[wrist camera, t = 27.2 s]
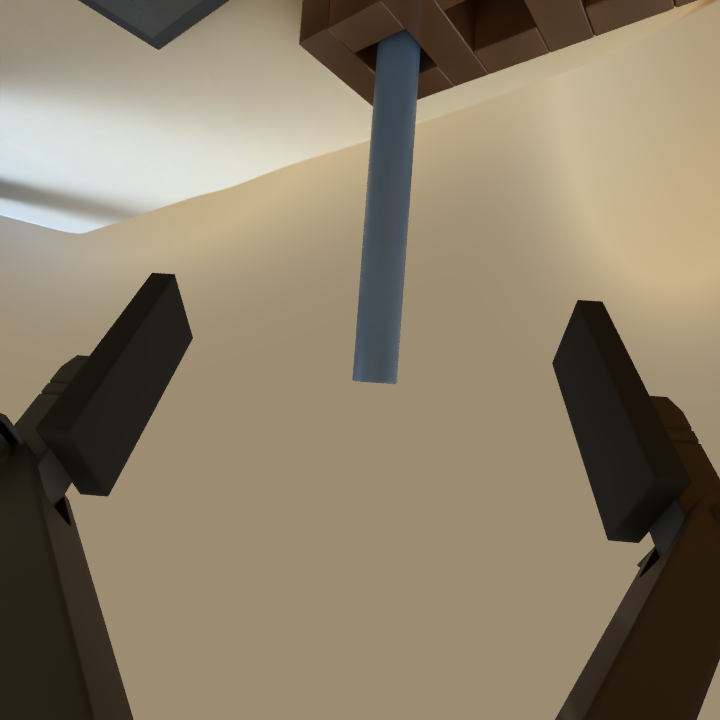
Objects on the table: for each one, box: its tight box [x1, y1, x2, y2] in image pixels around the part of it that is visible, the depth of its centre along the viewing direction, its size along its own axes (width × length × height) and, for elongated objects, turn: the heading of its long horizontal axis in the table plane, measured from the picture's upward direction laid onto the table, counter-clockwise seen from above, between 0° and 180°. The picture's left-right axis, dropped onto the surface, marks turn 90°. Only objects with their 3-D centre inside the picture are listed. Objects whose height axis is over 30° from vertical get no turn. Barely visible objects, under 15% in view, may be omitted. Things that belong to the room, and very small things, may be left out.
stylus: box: [353, 28, 421, 384], centre depth 22 cm, size 2×2×18 cm
